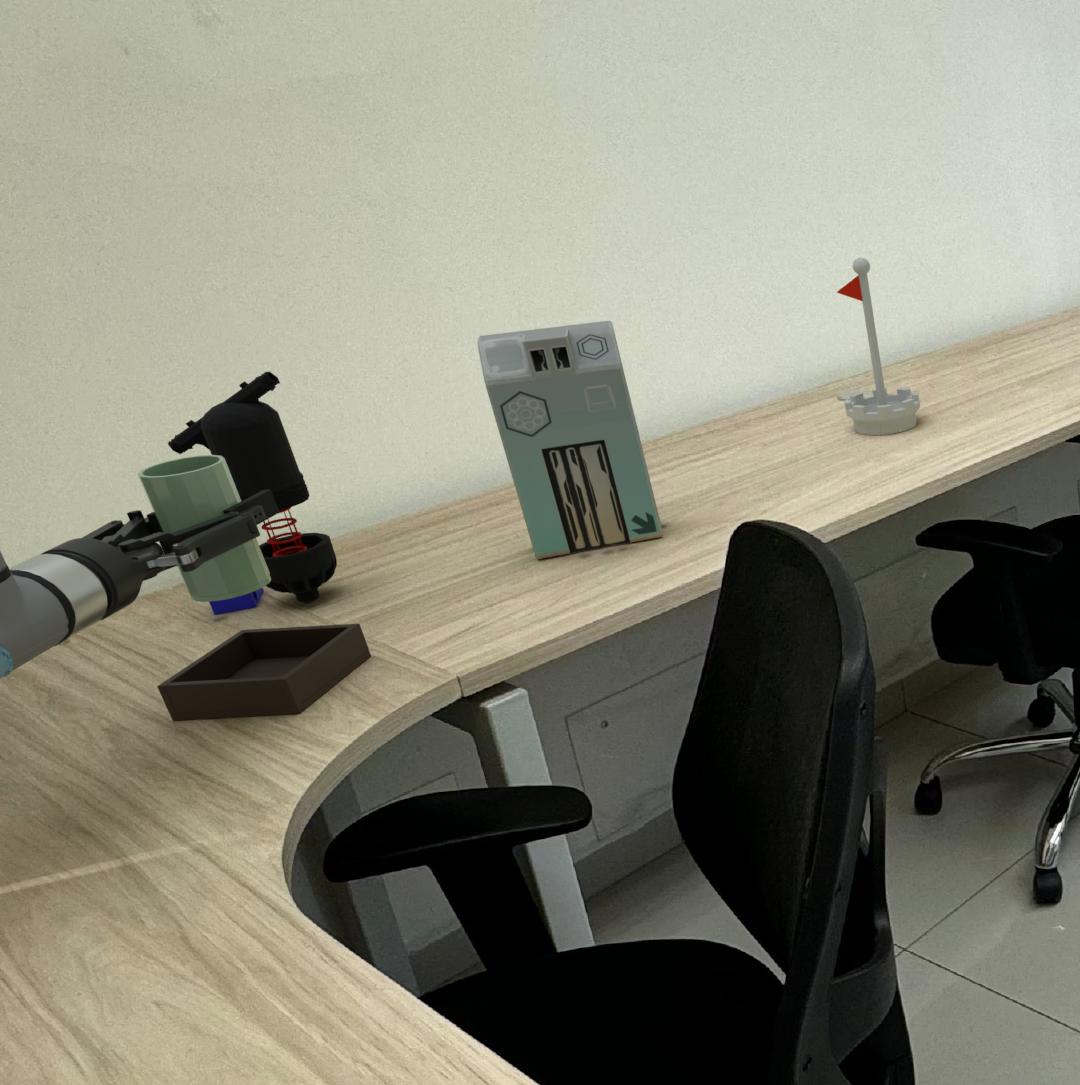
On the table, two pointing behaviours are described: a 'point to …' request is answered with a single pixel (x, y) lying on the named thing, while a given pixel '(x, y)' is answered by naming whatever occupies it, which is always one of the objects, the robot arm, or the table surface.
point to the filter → (265, 482)
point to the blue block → (237, 602)
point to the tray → (265, 672)
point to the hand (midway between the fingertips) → (234, 503)
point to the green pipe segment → (195, 497)
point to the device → (570, 437)
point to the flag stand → (877, 375)
